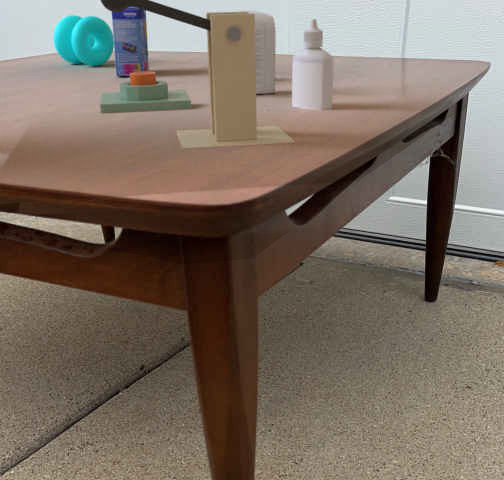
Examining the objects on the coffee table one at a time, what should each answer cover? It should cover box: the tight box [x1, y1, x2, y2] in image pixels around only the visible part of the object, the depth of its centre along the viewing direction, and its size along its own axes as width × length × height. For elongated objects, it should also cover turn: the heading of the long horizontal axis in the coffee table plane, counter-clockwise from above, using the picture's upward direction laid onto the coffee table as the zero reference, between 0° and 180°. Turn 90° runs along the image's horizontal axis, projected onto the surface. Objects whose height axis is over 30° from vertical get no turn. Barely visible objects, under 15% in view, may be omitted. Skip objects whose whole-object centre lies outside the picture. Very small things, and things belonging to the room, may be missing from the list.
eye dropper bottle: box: [291, 18, 334, 111], centre depth 90 cm, size 4×6×12 cm
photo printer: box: [231, 10, 277, 95], centre depth 107 cm, size 10×4×12 cm, turn 105°
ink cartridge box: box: [111, 5, 150, 78], centre depth 132 cm, size 10×6×14 cm, turn 1°
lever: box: [100, 0, 211, 31], centre depth 70 cm, size 15×3×3 cm, turn 100°
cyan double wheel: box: [53, 14, 114, 67], centre depth 149 cm, size 10×10×10 cm
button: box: [129, 70, 157, 85], centre depth 95 cm, size 4×4×2 cm
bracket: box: [176, 11, 296, 150], centre depth 74 cm, size 12×9×14 cm
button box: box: [99, 79, 192, 114], centre depth 96 cm, size 12×10×4 cm
